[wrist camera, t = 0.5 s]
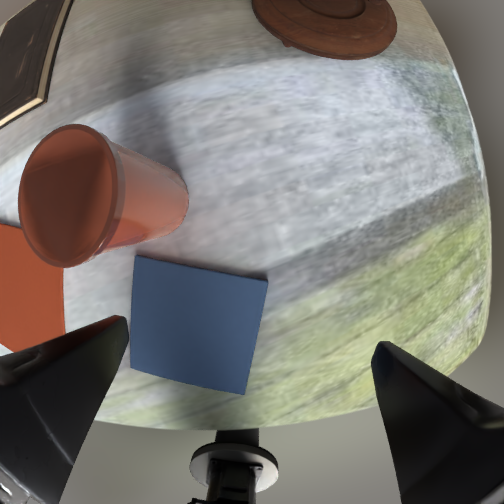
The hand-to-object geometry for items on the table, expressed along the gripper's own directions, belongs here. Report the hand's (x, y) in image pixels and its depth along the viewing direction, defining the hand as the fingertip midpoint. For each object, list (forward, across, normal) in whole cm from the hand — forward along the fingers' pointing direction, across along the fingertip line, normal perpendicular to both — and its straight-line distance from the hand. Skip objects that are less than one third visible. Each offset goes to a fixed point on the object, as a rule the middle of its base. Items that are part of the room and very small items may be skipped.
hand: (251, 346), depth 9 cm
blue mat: (+14, +5, +9) cm, 17 cm away
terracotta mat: (+13, +28, +10) cm, 33 cm away
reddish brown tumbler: (+16, +9, -2) cm, 18 cm away
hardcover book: (+19, +36, -23) cm, 47 cm away
